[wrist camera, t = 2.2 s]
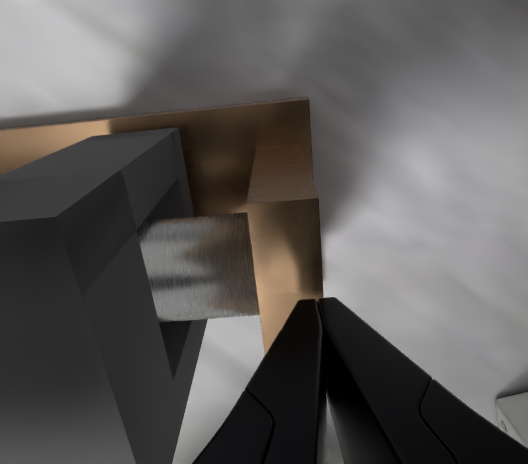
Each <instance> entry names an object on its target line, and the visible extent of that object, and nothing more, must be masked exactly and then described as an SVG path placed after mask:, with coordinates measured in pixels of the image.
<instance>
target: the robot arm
mask: <svg viewBox="0 0 528 464" xmlns="http://www.w3.org/2000/svg"><path fill="white" fill-rule="evenodd" d="M326 393H327V396H326ZM327 399H328V403H329V407H330V411H331V415H332V419H333V422H334V426H335V430H336V434H337V437H338V441H339V445H340V449H341V452H342V456H343V460H344V464H528V448H527V447H525V446H524V445H522V444H521V443H519V442H518V441H516V440H515V439H514V438H512V437H511V436H509V435H508V434H506V433H505V432H503V431H502V430H500V429H499V428H498V427H496V426H495V425H493V424H492V423H491V422H489V421H488V420H486V419H485V418H484V417H482V416H481V415H479V414H478V413H477V412H475V411H474V410H472V409H471V408H470V407H468V406H467V405H466V404H465V403H463V402H462V401H461V400H460V399H458V398H457V397H456V396H454V395H453V394H452V393H451V392H449V391H448V390H447V389H446V388H444V387H443V386H442V385H441V384H440V383H438V382H437V381H436V380H434V379H432V377H431V376H430V375H429V374H427V373H426V372H425V371H424V370H423V369H421V368H420V367H419V366H418V365H416V364H415V363H414V362H413V361H412V360H410V359H409V358H408V357H407V356H406V355H404V354H403V353H402V352H401V351H400V350H398V349H397V348H396V347H395V346H394V345H392V344H391V343H390V342H389V341H388V340H386V339H385V338H384V337H383V336H381V335H380V334H379V333H378V332H377V331H375V330H374V329H373V328H372V327H371V326H369V325H368V324H367V323H366V322H365V321H363V320H362V319H361V318H360V317H359V316H357V315H356V314H355V313H354V312H353V311H351V310H350V309H349V308H348V307H346V306H345V305H344V304H343V303H342V302H340V301H339V300H338V299H337V298H335V297H329V298H319V299H318V300H317V301H316V299H302V300H298V301H297V303H296V305H295V306H294V308H293V310H292V311H291V313H290V315H289V316H288V318H287V320H286V321H285V323H284V325H283V326H282V328H281V330H280V331H279V333H278V335H277V336H276V338H275V340H274V341H273V343H272V345H271V346H270V348H269V350H268V351H267V353H266V355H265V356H264V358H263V360H262V361H261V363H260V365H259V366H258V368H257V370H256V371H255V373H254V375H253V376H252V378H251V380H250V381H249V383H248V385H247V386H246V388H245V391H244V392H243V393H242V394H241V396H240V398H239V399H238V401H237V403H236V405H235V406H234V408H233V409H232V411H231V412H230V414H229V415H228V417H227V418H226V420H225V421H224V423H223V424H222V426H221V427H220V428H219V430H218V431H217V432H216V434H215V435H214V436H213V438H212V439H211V440H210V442H209V443H208V444H207V446H206V447H205V448H204V449H203V451H202V452H201V453H200V454H199V456H198V457H197V458H196V459H195V461H194V462H193V463H192V464H327Z"/></svg>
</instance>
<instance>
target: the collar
mask: <svg viewBox="0 0 528 464" xmlns="http://www.w3.org/2000/svg"><path fill="white" fill-rule="evenodd" d="M185 217H194V212H193V206H192V201H191V195H190V190H189V184H188V178H187V173H186V167H185V162H184V156H183V151H182V145H181V140H180V134H179V128H168V129H158V130H148V131H138V132H128V133H118V134H108V135H98V136H91V137H89V138H87V139H84V140H82V141H80V142H77V143H75V144H73V145H70V146H68V147H66V148H63V149H61V150H58V151H56V152H54V153H51V154H49V155H47V156H44V157H42V158H40V159H37V160H35V161H33V162H30V163H28V164H26V165H23V166H21V167H19V168H16V169H14V170H12V171H9V172H7V173H5V174H2V175H0V464H172V461H173V457H174V453H175V449H176V445H177V441H178V437H179V433H180V429H181V425H182V421H183V417H184V413H185V409H186V405H187V401H188V397H189V392H190V388H191V384H192V380H193V376H194V372H195V368H196V364H197V360H198V356H199V352H200V348H201V344H202V340H203V336H204V332H205V328H206V324H207V320H208V319H199V320H186V321H172V322H159V321H158V317H157V312H156V308H155V304H154V300H153V296H152V292H151V288H150V284H149V280H148V276H147V271H146V267H145V263H144V259H143V255H142V251H141V247H140V243H139V239H138V235H137V229H138V227H139V226H140V225H141V224H142V222H143V221H151V220H162V219H173V218H185Z"/></svg>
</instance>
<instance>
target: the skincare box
mask: <svg viewBox="0 0 528 464" xmlns="http://www.w3.org/2000/svg"><path fill="white" fill-rule="evenodd" d="M496 410H497V417H498V424H499V429H500V430H502V431H503V432H505V433H506V434H508V435H509V436H511V437H512V438H514V439H515V440H516V441H518V442H519V443H521V444H522V445H524V446H525V447H527V448H528V392H525V393H521V394H517V395H512V396H508V397H504V398H500V399H497V400H496Z"/></svg>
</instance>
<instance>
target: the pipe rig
mask: <svg viewBox="0 0 528 464" xmlns="http://www.w3.org/2000/svg"><path fill="white" fill-rule="evenodd" d="M168 128H179V134H180V140H181V145H182V151H183V156H184V162H185V167H186V173H187V178H188V184H189V190H190V195H191V201H192V206H193V212H194V217H185V218H173V219H162V220H151V221H143V222H142V224H141V225H140V226H139V227H138V229H137V235H138V239H139V243H140V247H141V251H142V255H143V259H144V263H145V267H146V271H147V276H148V280H149V284H150V288H151V292H152V296H153V300H154V304H155V308H156V312H157V317H158V321H159V322H172V321H186V320H199V319H213V318H226V317H240V316H253V315H260V319H261V327H262V335H263V343H264V351H265V355H266V353H267V351H268V350H269V348H270V346H271V345H272V343H273V341H274V340H275V338H276V336H277V335H278V333H279V331H280V330H281V328H282V326H283V325H284V323H285V321H286V320H287V318H288V316H289V315H290V313H291V311H292V310H293V308H294V306H295V305H296V303H297V301H298V300H302V299H316V301H317V300H318V299H319V298H323V278H322V258H321V238H320V217H319V198H318V195H317V192H316V189H315V186H314V183H313V165H312V147H311V128H310V110H309V99H308V98H307V97H304V98H294V99H285V100H275V101H265V102H256V103H246V104H236V105H227V106H217V107H207V108H198V109H188V110H178V111H168V112H159V113H149V114H139V115H130V116H120V117H110V118H101V119H91V120H81V121H72V122H62V123H52V124H43V125H33V126H23V127H14V128H4V129H0V175H2V174H5V173H7V172H9V171H12V170H14V169H16V168H19V167H21V166H23V165H26V164H28V163H30V162H33V161H35V160H37V159H40V158H42V157H44V156H47V155H49V154H51V153H54V152H56V151H58V150H61V149H63V148H66V147H68V146H70V145H73V144H75V143H77V142H80V141H82V140H84V139H87V138H89V137H91V136H98V135H108V134H118V133H128V132H138V131H148V130H158V129H168Z"/></svg>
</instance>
